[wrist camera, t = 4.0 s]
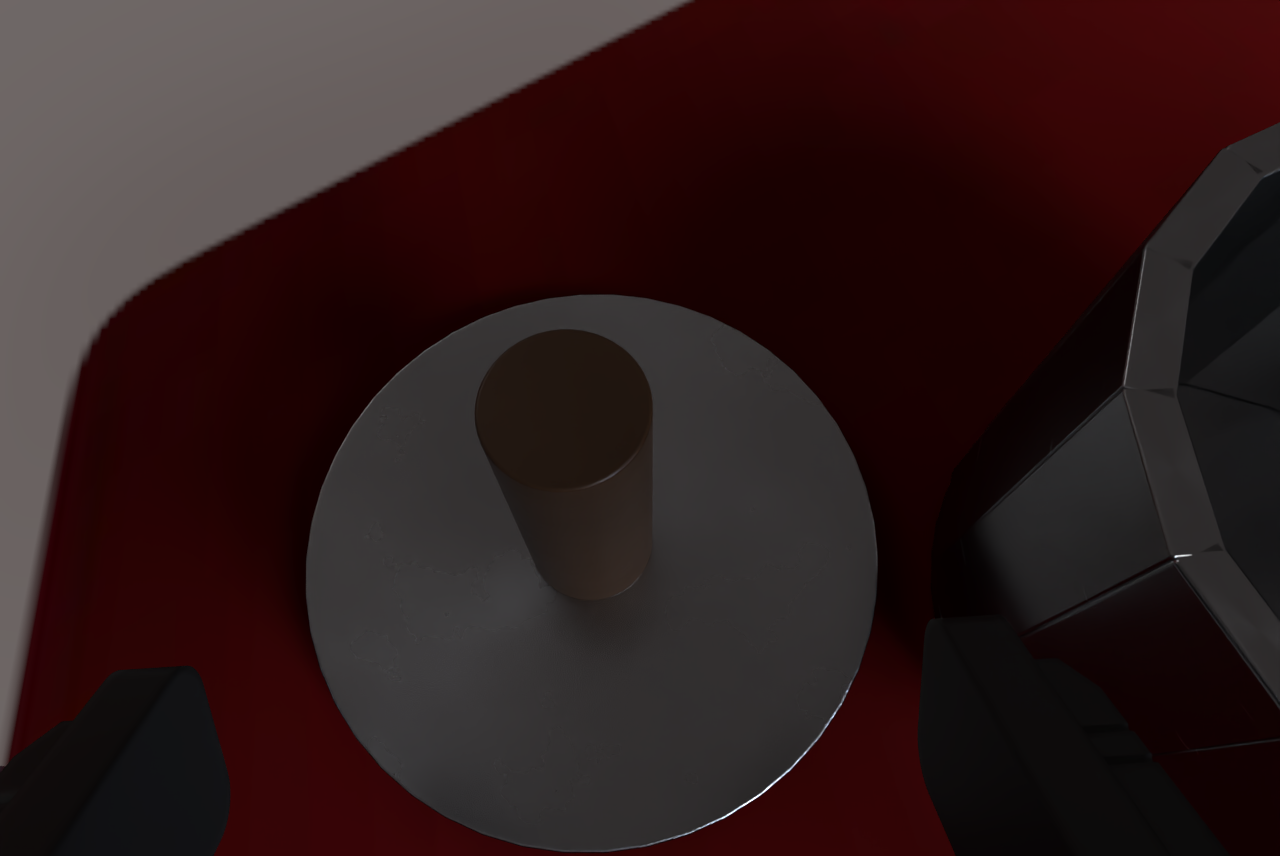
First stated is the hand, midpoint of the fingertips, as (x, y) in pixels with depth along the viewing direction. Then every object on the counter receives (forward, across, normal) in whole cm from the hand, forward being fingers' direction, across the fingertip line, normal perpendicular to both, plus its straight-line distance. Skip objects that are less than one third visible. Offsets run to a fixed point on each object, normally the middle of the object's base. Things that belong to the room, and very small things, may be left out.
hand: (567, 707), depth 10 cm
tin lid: (+10, 0, +3) cm, 10 cm away
